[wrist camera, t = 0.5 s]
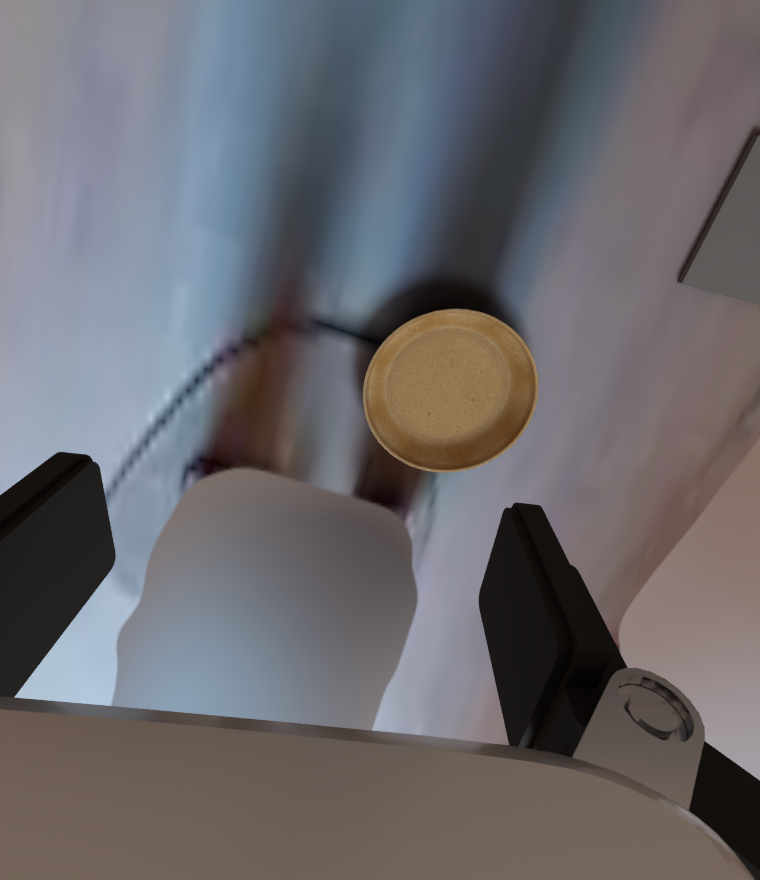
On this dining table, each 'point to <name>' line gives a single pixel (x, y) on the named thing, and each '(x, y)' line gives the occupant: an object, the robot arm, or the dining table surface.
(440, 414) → the plant saucer
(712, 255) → the rubber pad
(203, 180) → the dining table surface
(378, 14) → the dining table surface
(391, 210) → the dining table surface
